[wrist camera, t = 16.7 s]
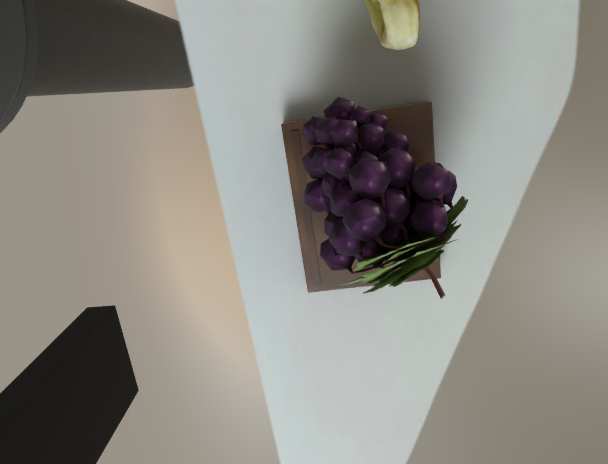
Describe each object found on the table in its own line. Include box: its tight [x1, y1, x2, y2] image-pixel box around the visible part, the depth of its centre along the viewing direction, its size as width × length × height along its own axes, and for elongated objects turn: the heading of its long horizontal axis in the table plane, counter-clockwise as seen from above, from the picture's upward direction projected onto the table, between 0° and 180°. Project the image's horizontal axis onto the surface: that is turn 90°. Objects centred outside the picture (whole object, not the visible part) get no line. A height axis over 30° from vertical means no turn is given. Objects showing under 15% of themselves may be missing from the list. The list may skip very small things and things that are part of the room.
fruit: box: [302, 97, 468, 299], centre depth 29 cm, size 10×11×15 cm
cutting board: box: [281, 101, 441, 292], centre depth 35 cm, size 14×11×2 cm
